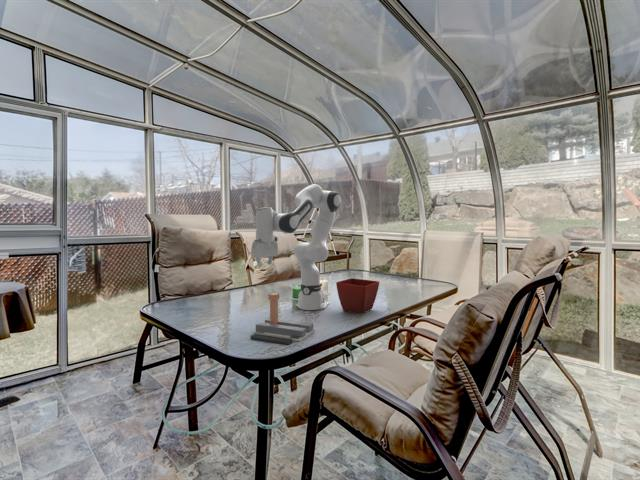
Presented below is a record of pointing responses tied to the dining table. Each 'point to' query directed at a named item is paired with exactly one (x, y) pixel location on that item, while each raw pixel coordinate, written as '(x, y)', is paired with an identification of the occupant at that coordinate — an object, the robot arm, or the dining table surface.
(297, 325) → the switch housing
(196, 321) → the dining table surface
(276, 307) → the breaker handle
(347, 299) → the plant pot
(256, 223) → the robot arm
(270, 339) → the twin grey rods
